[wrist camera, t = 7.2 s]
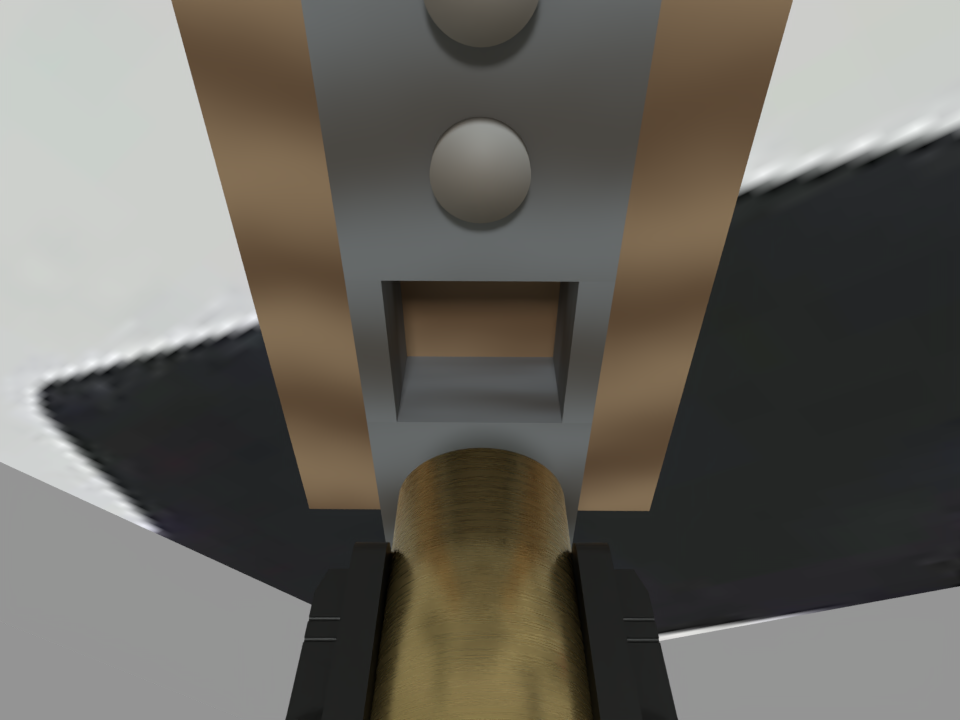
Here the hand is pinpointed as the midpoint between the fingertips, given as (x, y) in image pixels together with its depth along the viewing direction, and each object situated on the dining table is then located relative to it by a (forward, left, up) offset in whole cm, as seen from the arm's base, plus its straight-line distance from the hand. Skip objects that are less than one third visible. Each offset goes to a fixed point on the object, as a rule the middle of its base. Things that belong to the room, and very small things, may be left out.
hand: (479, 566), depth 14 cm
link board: (0, 0, -12) cm, 12 cm away
